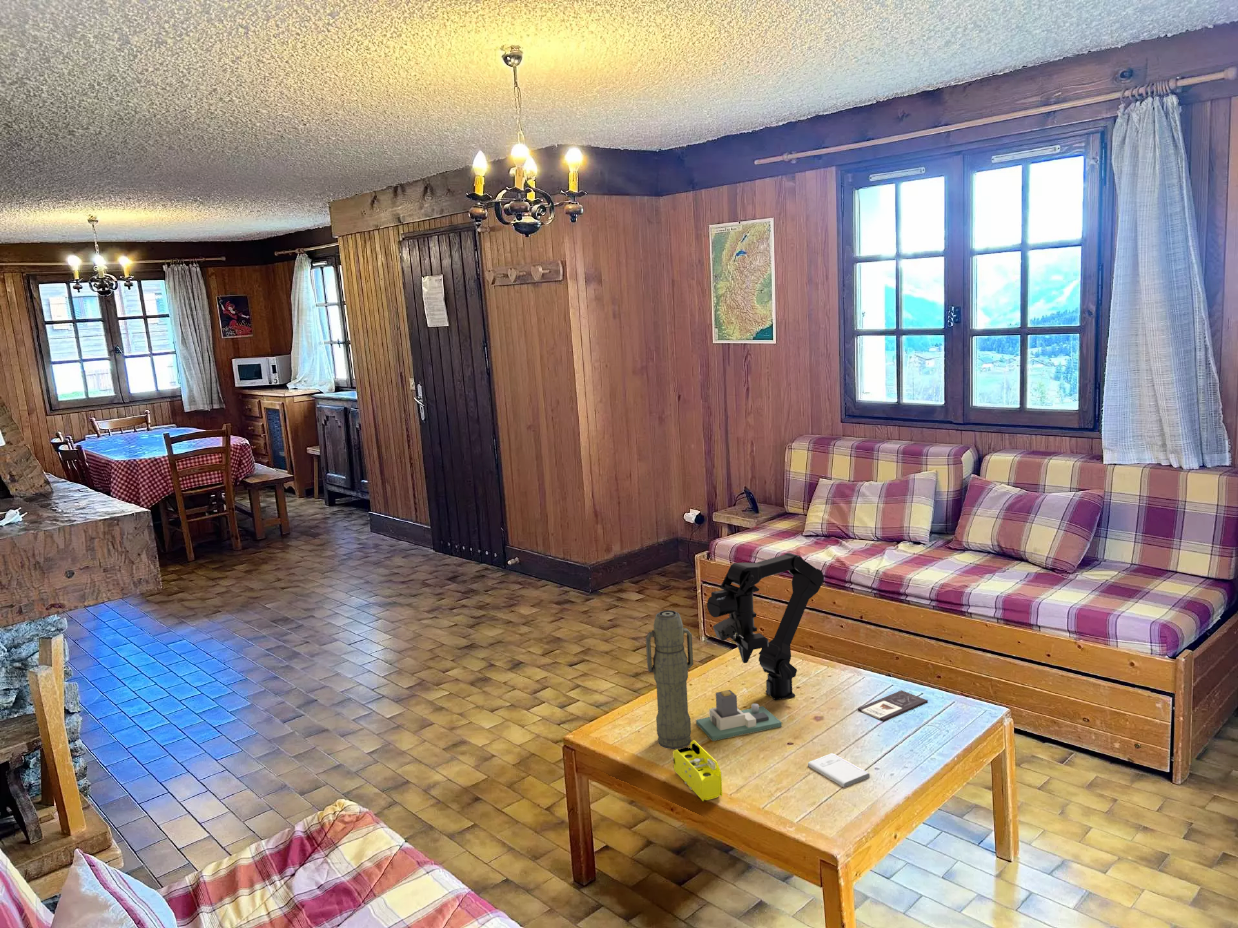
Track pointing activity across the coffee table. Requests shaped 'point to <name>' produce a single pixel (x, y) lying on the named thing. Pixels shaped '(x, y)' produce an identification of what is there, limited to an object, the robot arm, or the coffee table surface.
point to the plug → (726, 703)
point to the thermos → (671, 678)
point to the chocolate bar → (892, 705)
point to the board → (738, 723)
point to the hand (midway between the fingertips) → (745, 662)
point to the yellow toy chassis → (698, 771)
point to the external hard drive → (838, 770)
